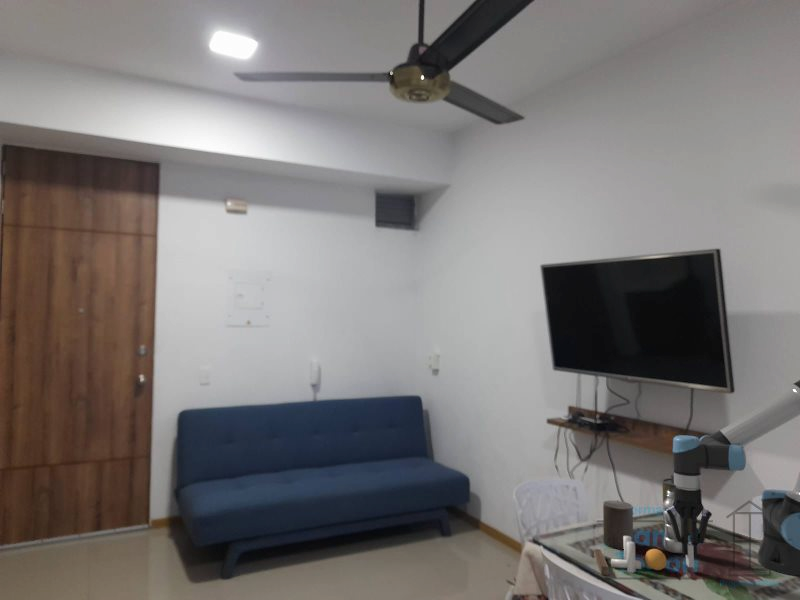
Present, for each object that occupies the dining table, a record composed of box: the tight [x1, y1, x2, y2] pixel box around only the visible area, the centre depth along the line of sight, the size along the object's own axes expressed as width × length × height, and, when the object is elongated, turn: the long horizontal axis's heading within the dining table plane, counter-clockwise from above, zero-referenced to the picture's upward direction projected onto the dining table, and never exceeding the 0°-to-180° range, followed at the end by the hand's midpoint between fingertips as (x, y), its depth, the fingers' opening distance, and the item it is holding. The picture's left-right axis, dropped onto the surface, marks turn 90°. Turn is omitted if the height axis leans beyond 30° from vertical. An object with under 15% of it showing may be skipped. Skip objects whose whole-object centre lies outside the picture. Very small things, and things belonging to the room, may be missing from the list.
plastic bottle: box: [662, 490, 683, 554], centre depth 189 cm, size 6×7×20 cm
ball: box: [644, 548, 667, 571], centre depth 175 cm, size 6×6×6 cm
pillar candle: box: [602, 499, 634, 550], centre depth 196 cm, size 10×10×15 cm
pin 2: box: [626, 541, 637, 574], centre depth 174 cm, size 2×2×8 cm
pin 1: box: [623, 536, 632, 560], centre depth 179 cm, size 2×2×8 cm
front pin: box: [610, 558, 642, 570], centre depth 176 cm, size 2×2×8 cm
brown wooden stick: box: [593, 548, 609, 576], centre depth 178 cm, size 2×14×2 cm, turn 170°
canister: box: [661, 473, 690, 535], centre depth 211 cm, size 11×10×20 cm
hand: (690, 565), depth 173 cm, fingers closed
